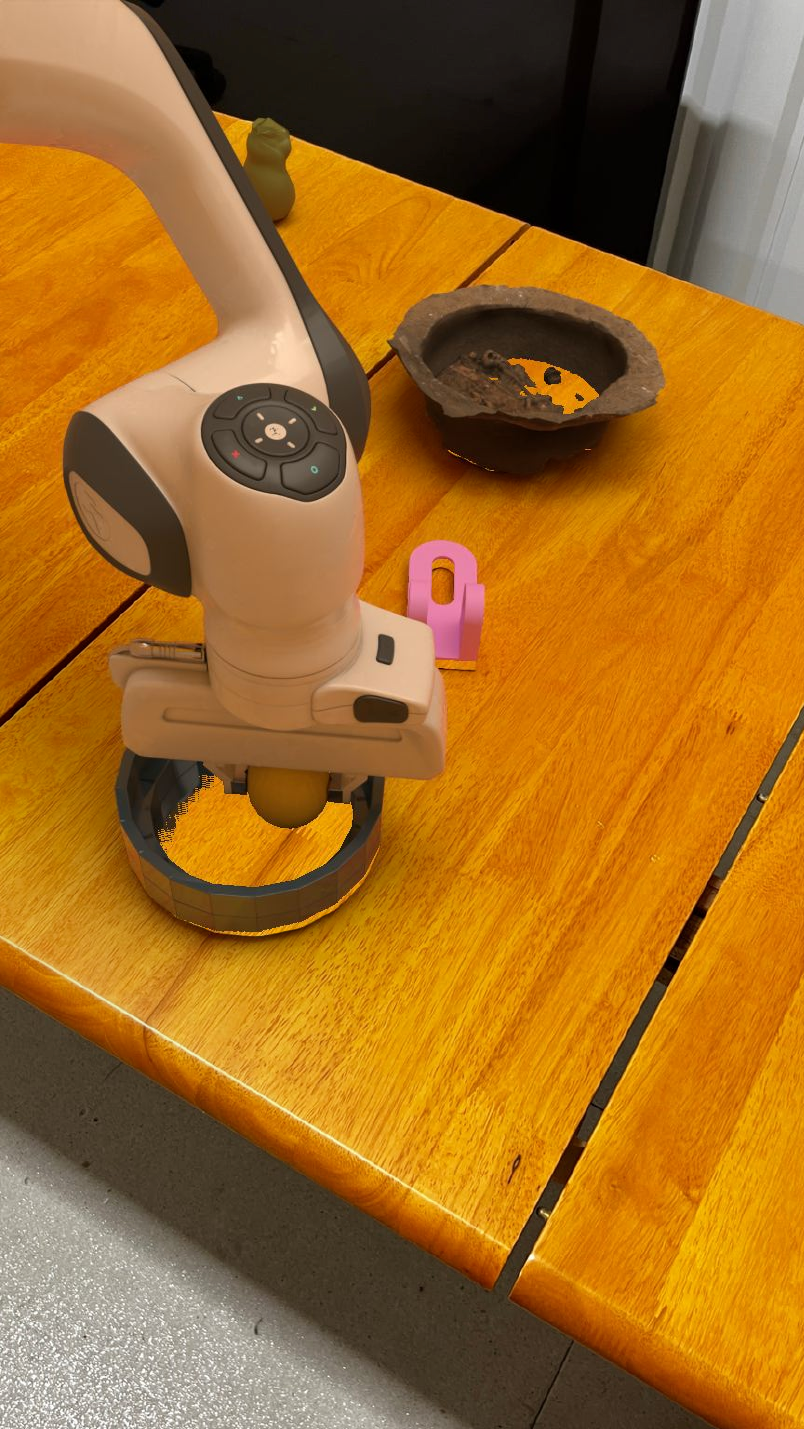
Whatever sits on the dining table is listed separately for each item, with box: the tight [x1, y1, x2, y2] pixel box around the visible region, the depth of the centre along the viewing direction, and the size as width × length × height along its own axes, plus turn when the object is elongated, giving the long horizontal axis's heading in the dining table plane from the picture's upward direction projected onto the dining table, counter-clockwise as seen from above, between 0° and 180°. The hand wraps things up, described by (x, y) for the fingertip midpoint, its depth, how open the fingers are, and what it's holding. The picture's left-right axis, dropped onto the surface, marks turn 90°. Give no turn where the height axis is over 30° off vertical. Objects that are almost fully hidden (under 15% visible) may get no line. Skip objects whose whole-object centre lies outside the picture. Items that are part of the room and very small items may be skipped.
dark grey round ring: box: [113, 747, 386, 932], centre depth 83 cm, size 18×18×6 cm
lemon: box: [247, 766, 330, 829], centre depth 81 cm, size 6×6×8 cm
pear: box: [242, 117, 296, 222], centre depth 126 cm, size 6×5×10 cm
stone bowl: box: [385, 283, 666, 476], centre depth 111 cm, size 25×25×9 cm
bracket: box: [406, 539, 486, 662], centre depth 97 cm, size 13×6×7 cm, turn 179°
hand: (289, 790), depth 82 cm, fingers closed on lemon, 5 cm apart
